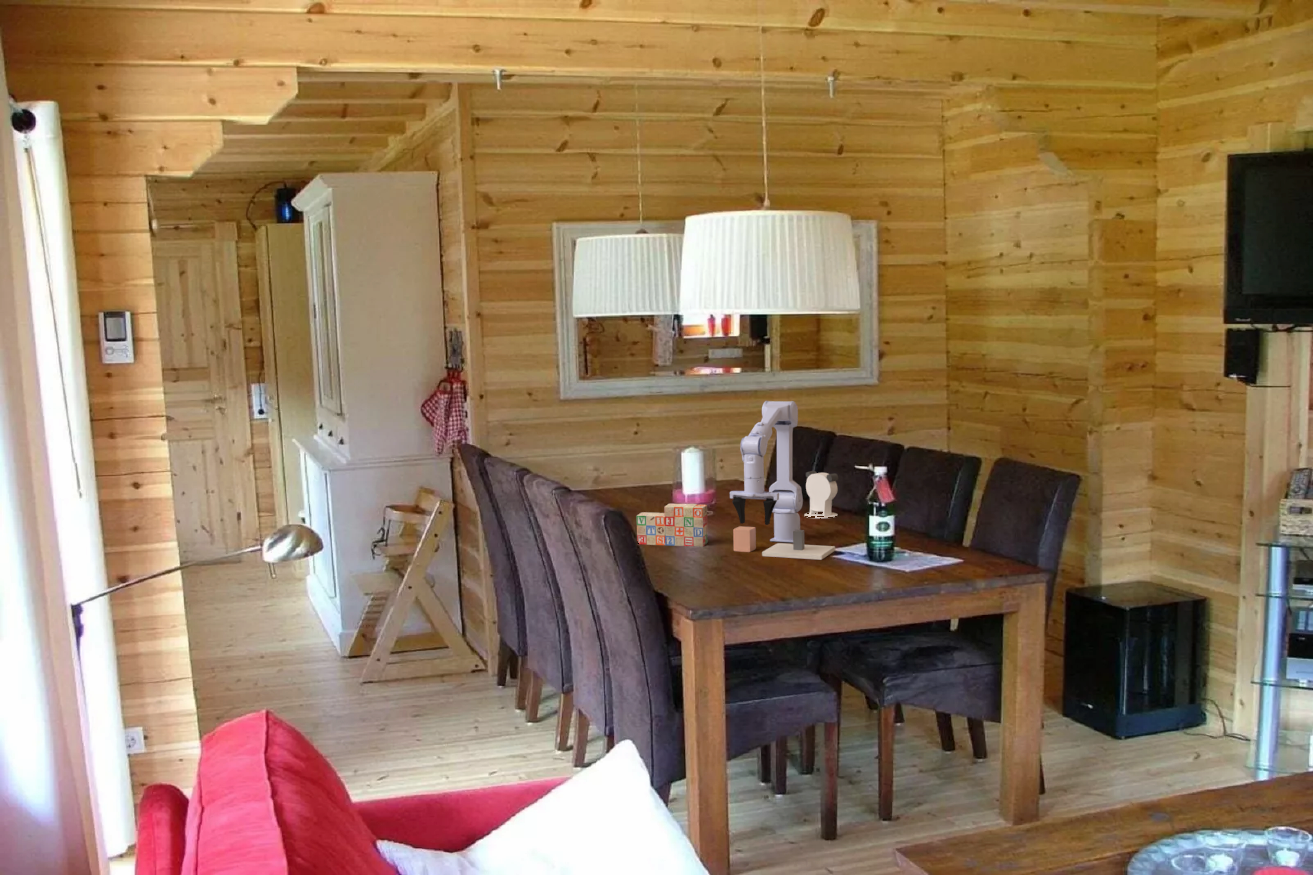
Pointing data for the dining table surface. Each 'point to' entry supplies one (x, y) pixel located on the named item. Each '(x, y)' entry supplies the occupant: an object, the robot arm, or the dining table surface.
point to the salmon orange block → (744, 539)
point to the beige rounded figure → (821, 493)
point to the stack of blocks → (674, 526)
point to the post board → (798, 549)
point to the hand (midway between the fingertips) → (754, 523)
